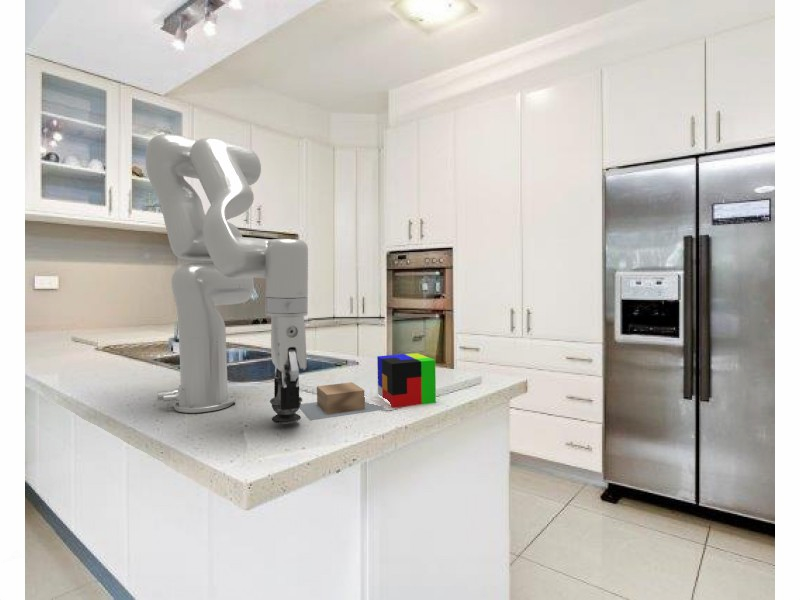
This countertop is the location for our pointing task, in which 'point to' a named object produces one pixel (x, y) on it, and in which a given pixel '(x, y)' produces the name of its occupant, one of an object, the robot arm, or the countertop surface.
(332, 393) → the base block
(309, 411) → the slate mat
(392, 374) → the puzzle toy
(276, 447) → the countertop surface
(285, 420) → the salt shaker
